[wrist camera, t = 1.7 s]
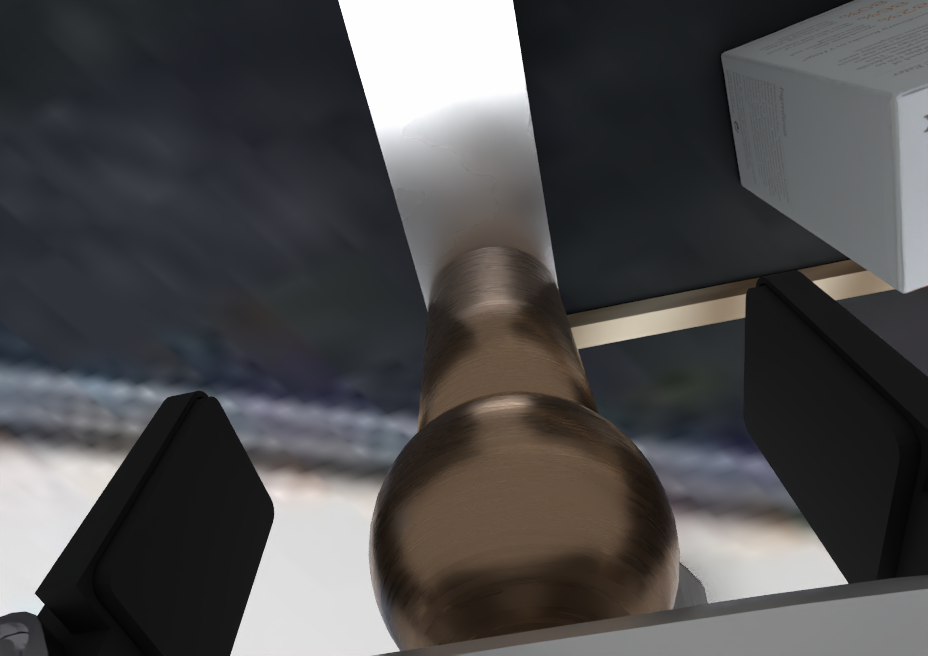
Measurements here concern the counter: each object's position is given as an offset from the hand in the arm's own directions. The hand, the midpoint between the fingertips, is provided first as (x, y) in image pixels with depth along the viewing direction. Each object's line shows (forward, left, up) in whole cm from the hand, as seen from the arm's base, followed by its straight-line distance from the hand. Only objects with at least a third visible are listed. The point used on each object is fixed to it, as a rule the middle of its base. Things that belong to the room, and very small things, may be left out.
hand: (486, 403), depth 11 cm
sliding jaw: (0, 0, -15) cm, 15 cm away
